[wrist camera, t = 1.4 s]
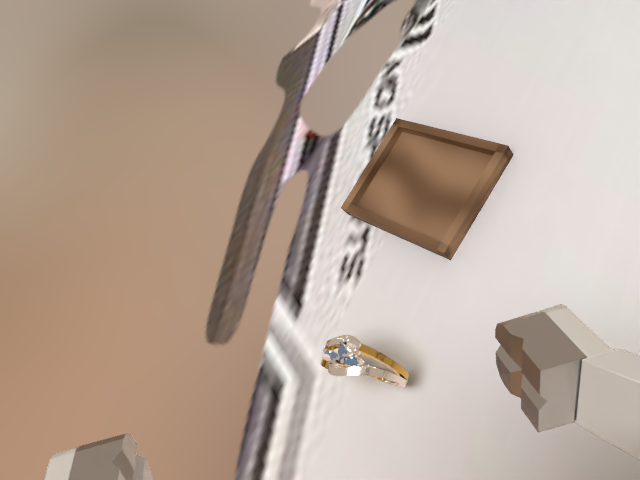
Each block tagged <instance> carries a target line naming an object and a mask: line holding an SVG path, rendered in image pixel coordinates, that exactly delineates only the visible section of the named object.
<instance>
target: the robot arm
mask: <svg viewBox="0 0 640 480" xmlns="http://www.w3.org/2000/svg"><path fill="white" fill-rule="evenodd" d="M495 338H496V339H497V340H498V342H499V343H500V344H501V345H500V347H499V348H498V350H497V351H496V364H497V367H498V371H499V374H500V377H501V379H502V381H503V383H504V385H505V386H506V388H507V389H508V390H509V392H510V393H511V394H513V395H515V396H517V397H520V398H521V409H522V410H523V412H524V413H525V415H526V416H527V417H528V419H529V420H530V422H531V423H532V424H533V426H534V427H535V429H536V430H537V431H538V432H541V431H544V430H548V429H551V428H555V427H559V426H562V425H566V424H569V423H573V422H576V424H577V425H579V426H581V427H583V428H584V429H586V430H588V431H590V432H591V433H593V434H595V435H597V436H598V437H600V438H602V439H603V440H605V441H607V442H609V443H610V444H612V445H614V446H616V447H617V448H619V449H621V450H623V451H624V452H626V453H628V454H629V455H631V456H633V457H635V458H636V459H638V460H640V356H638V355H635V354H632V353H629V352H627V351H624V350H621V349H616V350H611V349H610V348H609V347H608V346H607V345H606V344H605V343H604V342H603V341H602V340H601V339H600V338H599V337H598V336H597V335H595V334H594V333H593V332H592V331H591V330H590V329H589V328H588V327H587V326H586V325H585V324H584V323H583V322H582V321H581V320H580V319H579V318H578V317H577V316H576V315H575V314H574V313H573V312H571V311H570V310H569V309H568V308H567V307H566V306H564V305H561V304H560V305H557V306H554V307H551V308H547V309H544V310H541V311H539V312H534V313H531V314H528V315H524V316H521V317H518V318H515V319H511V320H508V321H505V322H502V323H498V324H497V326H496V329H495ZM136 449H137V443H136V442H135V440H134V438H133V437H132V435H131V434H123V435H119V436H115V437H112V438H108V439H104V440H100V441H97V442H93V443H89V444H86V445H82V446H79V447H76V448H73V449H69V450H65V451H62V452H58V453H55V454H54V455H53V457H52V458H51V459H50V461H49V465H48V468H47V472H46V476H45V479H44V480H153V479H152V474H151V471H150V468H149V465H148V463H147V461H146V459H145V458H144V457H142V456H139V455H137V454H136Z"/></svg>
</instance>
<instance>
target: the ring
mask: <svg viewBox="0 0 640 480" xmlns="http://www.w3.org/2000/svg"><path fill="white" fill-rule="evenodd" d="M348 345H351V346H353V347H354V348H355V350H353V349H352V348H351V347H350V346H348ZM336 348H339V350H338V353H337V352H335V351H334V349H336ZM323 352H324V353H325V354H327V355H329V356H330V358H328V357H322V360H321V365H322V366H323V367H325V368H326V369H328V372H329V373H330V374H331V375H334V376H347V375H368V376H372V377H375V378H377V379H379V380H381V381H384V382H386V383H391V384H394V385H397V386H400V387H406V384H407V382H408V379H409V374H408V372H407V371H406V370H405V369H404V368H402V367H401V366H400V365H399V364H397V363H396V362H394V361H393V360H391V359H390V358H388V357H387V356H385V355H383V354H382V353H380V352H378V351H376V350H374V349H372V348H370V347H368V346H366V345H364V344H361V343H360V341H359V340H358V339H357V338H355V337H353V336H350V335H343V336H339V337H336V338H333V339H330V340H328V341H327V342H326V343H325V346H324V349H323ZM359 355H362V356H365V357H368V358H371V359H373V360H375V361H377V362H379V363H381V364H383V365H385V366H386V367H388V368H389V369H391V370H392V371H393V372H395V373H396V374H397V375H396V374H393V373H391V372H388V371H385V370H383V369H378V368H375V367H372V366H369V365H366V364H363V363H364V362H365V361H363V360H362V359H361V358H360V357H359ZM338 366H340V367H344V368H339V367H338Z"/></svg>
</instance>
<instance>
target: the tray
mask: <svg viewBox="0 0 640 480" xmlns="http://www.w3.org/2000/svg"><path fill="white" fill-rule="evenodd" d="M512 156H513V154H512V152H511V150H510V148H509V146H507V145H503V144H499V143H495V142H491V141H487V140H483V139H479V138H474V137H470V136H466V135H462V134H458V133H454V132H450V131H446V130H442V129H438V128H434V127H430V126H426V125H422V124H418V123H413V122H409V121H405V120H401V119H397V118H396V120H395V122H394V123H393V125H392V126H391V128H390V130H389V131H388V133H387V134H386V136H385V138H384V139H383V141H382V142H381V144H380V146H379V147H378V149H377V151H376V152H375V154H374V155H373V157H372V159H371V160H370V162H369V163H368V165H367V167H366V168H365V170H364V171H363V173H362V175H361V176H360V178H359V179H358V181H357V183H356V184H355V186H354V187H353V189H352V191H351V192H350V194H349V195H348V197H347V199H346V200H345V202H344V203H343V205H342V207H341V208H342V209H343V210H344V211H345V212H346V213H347V214H349V215H351V216H353V217H355V218H358V219H360V220H362V221H364V222H367V223H369V224H371V225H373V226H376V227H378V228H380V229H382V230H384V231H387V232H389V233H391V234H393V235H396V236H398V237H400V238H402V239H405V240H407V241H409V242H411V243H414V244H416V245H418V246H420V247H423V248H425V249H427V250H429V251H432V252H434V253H436V254H438V255H441V256H443V257H445V258H447V259H449V260H451V258H452V257H453V255H454V253H455V252H456V250H457V248H458V247H459V245H460V243H461V242H462V240H463V238H464V237H465V235H466V233H467V231H468V230H469V228H470V226H471V225H472V223H473V221H474V220H475V218H476V216H477V215H478V213H479V211H480V210H481V208H482V206H483V205H484V203H485V201H486V200H487V198H488V196H489V195H490V193H491V191H492V190H493V188H494V186H495V185H496V183H497V181H498V180H499V178H500V176H501V175H502V173H503V171H504V170H505V168H506V166H507V165H508V163H509V161H510V159H511V158H512Z"/></svg>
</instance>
